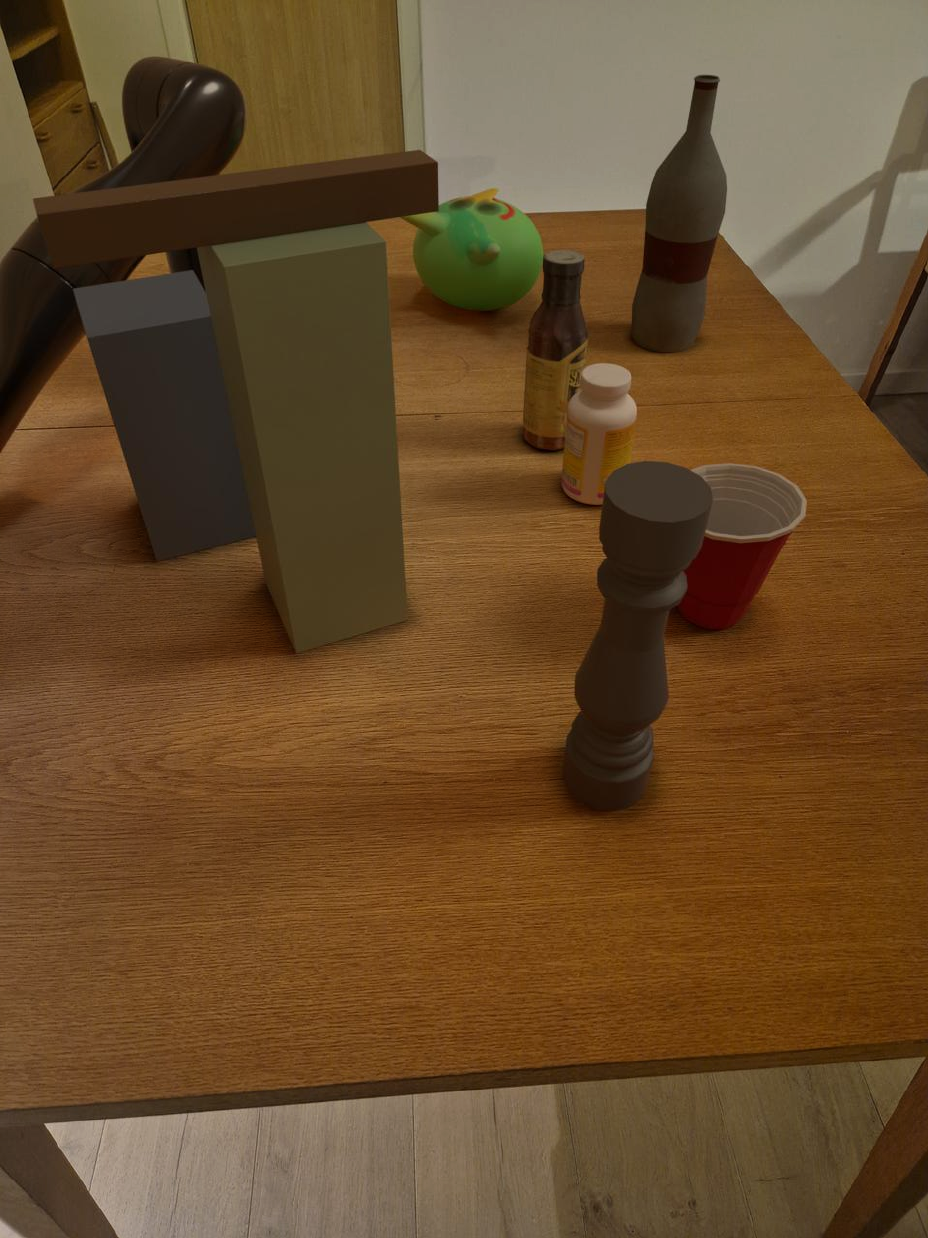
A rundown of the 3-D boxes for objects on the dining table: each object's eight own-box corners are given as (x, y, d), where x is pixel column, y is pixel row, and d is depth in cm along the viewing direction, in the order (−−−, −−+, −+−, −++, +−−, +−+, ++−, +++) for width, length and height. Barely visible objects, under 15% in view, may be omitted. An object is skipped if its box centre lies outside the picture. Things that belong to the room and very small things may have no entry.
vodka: (690, 323, 118) (739, 67, 97) (706, 354, 111) (761, 86, 91) (622, 324, 118) (656, 67, 97) (634, 355, 111) (673, 87, 90)
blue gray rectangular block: (156, 561, 81) (86, 337, 65) (139, 504, 87) (72, 288, 72) (262, 534, 84) (218, 314, 68) (237, 481, 90) (192, 269, 75)
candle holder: (555, 744, 65) (589, 460, 48) (636, 739, 65) (699, 455, 48) (569, 814, 60) (613, 528, 43) (656, 808, 61) (733, 522, 44)
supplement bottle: (630, 477, 91) (649, 364, 82) (617, 513, 86) (635, 396, 77) (568, 466, 92) (580, 353, 84) (553, 500, 88) (563, 384, 79)
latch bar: (54, 269, 50) (36, 214, 47) (49, 251, 52) (32, 197, 49) (439, 211, 57) (438, 161, 55) (421, 197, 59) (420, 149, 57)
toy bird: (559, 298, 124) (568, 188, 114) (499, 343, 113) (502, 226, 103) (454, 271, 131) (453, 166, 121) (388, 311, 120) (381, 199, 110)
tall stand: (296, 653, 72) (223, 266, 50) (265, 582, 78) (189, 212, 57) (408, 620, 75) (386, 240, 53) (369, 553, 81) (335, 192, 60)
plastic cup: (670, 553, 82) (693, 443, 73) (784, 592, 78) (822, 480, 69) (625, 622, 75) (645, 509, 67) (748, 668, 71) (786, 553, 63)
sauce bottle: (574, 456, 94) (593, 272, 80) (517, 449, 95) (527, 267, 81) (580, 425, 98) (599, 247, 85) (526, 419, 99) (536, 242, 86)
